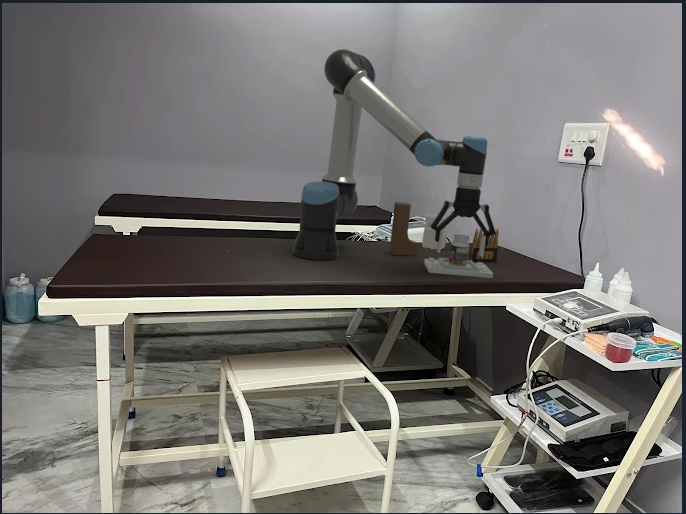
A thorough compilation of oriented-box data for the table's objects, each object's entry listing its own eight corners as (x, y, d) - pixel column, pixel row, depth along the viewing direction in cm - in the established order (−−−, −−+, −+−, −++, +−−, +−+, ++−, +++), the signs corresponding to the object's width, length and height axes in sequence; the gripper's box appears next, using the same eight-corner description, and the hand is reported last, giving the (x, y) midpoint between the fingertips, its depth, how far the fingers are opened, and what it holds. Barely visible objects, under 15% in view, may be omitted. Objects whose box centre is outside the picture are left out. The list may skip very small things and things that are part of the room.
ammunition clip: (493, 260, 198) (498, 227, 195) (496, 262, 196) (501, 228, 193) (468, 261, 193) (473, 227, 191) (471, 262, 192) (476, 228, 189)
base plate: (428, 272, 172) (429, 264, 172) (423, 263, 184) (424, 255, 184) (492, 278, 172) (493, 270, 172) (483, 268, 184) (485, 261, 184)
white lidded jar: (417, 245, 213) (421, 214, 210) (435, 244, 217) (439, 214, 214) (430, 250, 206) (434, 218, 203) (449, 249, 210) (453, 218, 207)
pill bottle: (446, 263, 180) (450, 233, 178) (463, 264, 181) (467, 234, 178) (450, 267, 175) (455, 236, 172) (468, 268, 175) (473, 238, 173)
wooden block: (412, 253, 198) (418, 203, 194) (417, 256, 194) (423, 205, 190) (388, 252, 196) (394, 201, 192) (393, 255, 192) (398, 203, 187)
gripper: (430, 184, 168) (422, 252, 173) (512, 192, 168) (501, 260, 173) (427, 182, 176) (419, 247, 181) (505, 189, 176) (495, 254, 181)
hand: (459, 253), depth 177 cm, fingers open, 13 cm apart
